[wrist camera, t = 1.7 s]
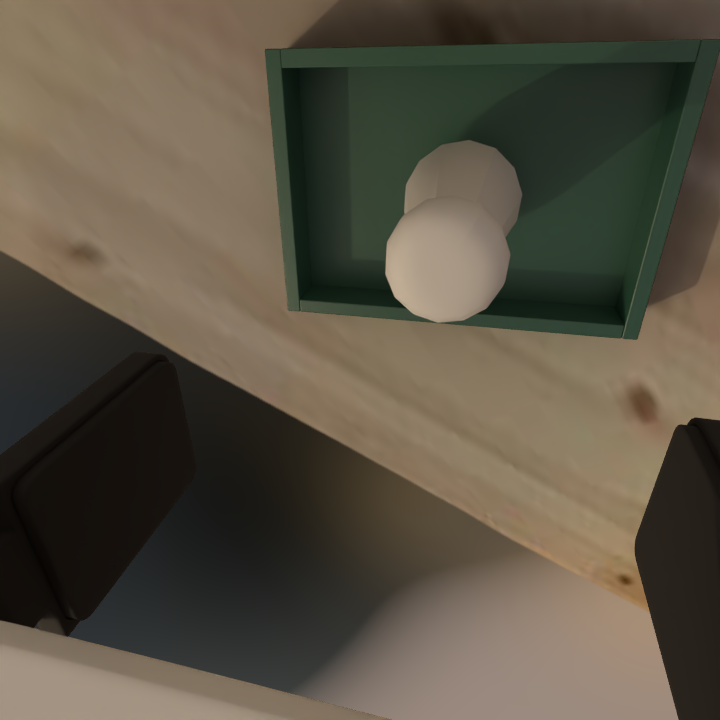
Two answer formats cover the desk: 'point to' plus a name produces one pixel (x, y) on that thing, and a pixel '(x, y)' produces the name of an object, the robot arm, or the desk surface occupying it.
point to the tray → (514, 141)
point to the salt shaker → (454, 232)
